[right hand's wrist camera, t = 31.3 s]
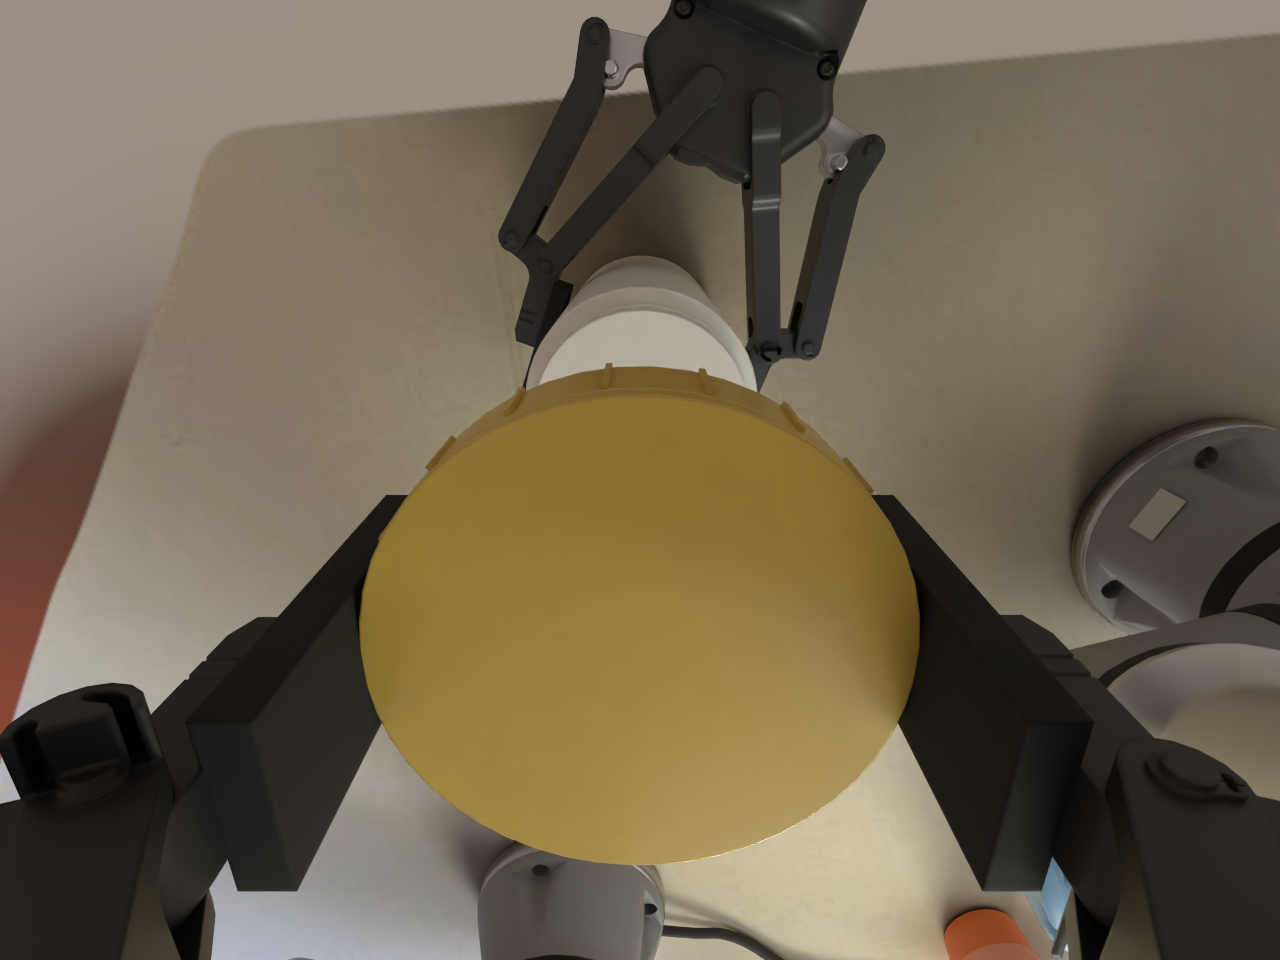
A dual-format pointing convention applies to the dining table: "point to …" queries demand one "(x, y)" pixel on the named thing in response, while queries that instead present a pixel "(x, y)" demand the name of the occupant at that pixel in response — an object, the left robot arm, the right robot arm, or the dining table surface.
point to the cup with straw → (987, 938)
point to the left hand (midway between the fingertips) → (610, 438)
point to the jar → (641, 326)
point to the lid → (639, 619)
